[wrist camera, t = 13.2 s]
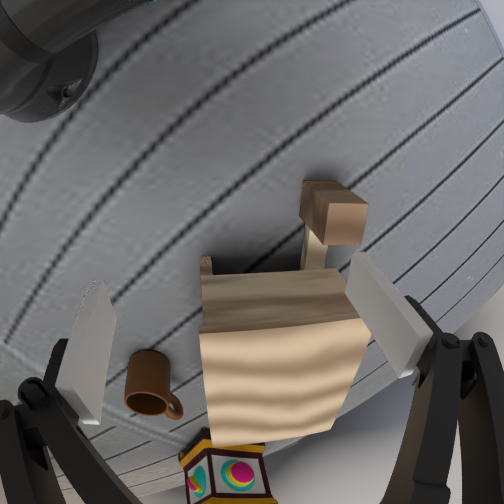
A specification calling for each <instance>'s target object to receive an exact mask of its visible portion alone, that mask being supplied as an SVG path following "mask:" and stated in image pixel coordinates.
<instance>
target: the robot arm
mask: <svg viewBox="0 0 504 504" xmlns="http://www.w3.org/2000/svg"><path fill="white" fill-rule="evenodd" d="M156 1H157V0H0V114H4V115H6V116H8V117H10V118H12V119H14V120H17V121H20V122H28V123H32V122H39V121H43V120H47V119H51V118H53V117H56V116H57V115H59V114H61V113H63V112H64V111H66V110H67V109H68V108H69V107H70V106H72V105H73V104H74V103H75V102H76V101H77V99H78V98H79V97H80V96H81V95H82V93H83V92H84V90H85V89H86V87H87V85H88V84H89V82H90V80H91V77H92V75H93V72H94V69H95V66H96V61H97V53H98V46H97V39H96V35H95V32H94V30H95V29H97V28H98V27H100V26H102V25H104V24H106V23H107V22H109V21H111V20H113V19H115V18H117V17H119V16H121V15H123V14H125V13H127V12H129V11H131V10H133V9H135V8H137V7H139V6H141V5H143V4H146V3H147V4H152V3H154V2H156ZM345 294H346V296H347V297H348V299H349V300H350V302H351V303H352V305H353V306H354V308H355V309H356V311H357V312H358V314H359V316H360V317H361V319H362V320H363V322H364V323H365V325H366V326H367V328H368V329H369V331H370V333H371V334H372V336H373V337H374V339H375V340H376V342H377V344H378V345H379V347H380V348H381V350H382V352H383V353H384V355H385V356H386V358H387V360H388V361H389V363H390V364H391V366H392V368H393V369H394V371H395V373H396V374H397V376H398V378H402V377H405V376H407V375H410V374H412V373H413V371H414V369H415V367H416V366H417V367H418V368H419V370H420V371H419V373H418V375H417V377H416V378H415V380H414V382H413V384H412V385H413V386H414V384H415V383H416V386H415V391H414V396H413V401H412V405H411V409H410V414H409V418H408V422H407V426H406V430H405V434H404V437H403V441H402V444H401V448H400V451H399V454H398V457H397V461H396V464H395V467H394V470H393V473H392V476H391V479H390V481H389V484H388V487H387V490H386V493H385V495H384V497H383V499H382V501H381V502H380V504H448V503H449V499H450V494H451V492H450V489H449V488H448V487H447V485H446V483H447V478H448V473H449V469H450V464H451V459H452V454H453V448H454V441H455V435H456V428H457V420H458V424H459V434H460V446H461V461H462V504H504V371H503V368H502V364H501V362H500V359H499V355H498V352H497V350H496V347H495V344H494V341H493V339H492V338H491V337H490V336H489V335H488V334H486V333H484V332H477V333H475V334H474V335H473V337H472V339H471V340H459V338H458V337H456V336H455V335H453V334H451V333H443V332H442V330H441V329H440V328H439V327H438V326H437V324H436V323H435V322H434V321H433V319H432V318H431V317H430V316H429V315H428V314H427V312H426V311H425V310H424V309H422V306H421V305H420V304H419V303H418V302H417V301H416V300H415V299H413V298H412V297H410V296H409V295H408V296H403V295H402V294H401V293H400V291H399V290H398V289H397V288H396V287H395V286H394V284H393V283H392V282H391V281H390V280H389V279H388V278H387V276H386V275H385V274H384V273H383V272H382V271H381V270H380V268H379V267H378V266H377V265H376V264H375V263H374V262H373V261H372V260H371V258H370V257H369V256H368V255H367V254H366V253H365V252H358V253H352V259H351V264H350V269H349V275H348V280H347V285H346V290H345ZM116 323H117V318H116V315H115V313H114V310H113V307H112V304H111V301H110V298H109V295H108V292H107V289H106V286H105V283H104V280H103V279H101V280H90V282H89V284H88V287H87V290H86V292H85V295H84V297H83V300H82V303H81V305H80V308H79V311H78V314H77V316H76V319H75V322H74V325H73V328H72V331H71V334H70V337H69V339H60V340H59V341H58V342H57V343H56V345H55V346H54V348H53V351H52V354H51V358H50V360H49V365H48V366H47V369H46V372H45V376H44V379H43V381H42V380H41V379H40V378H37V377H30V378H28V379H26V380H25V381H23V382H22V383H21V385H20V386H19V388H18V398H19V400H20V401H21V402H22V403H23V404H21V405H17V406H14V405H13V404H12V403H11V402H10V401H8V400H0V475H1V479H2V484H3V488H4V492H5V496H6V499H7V503H8V504H66V502H65V499H64V497H63V494H62V492H61V489H60V486H59V484H58V481H57V478H56V475H55V472H54V469H53V466H52V463H51V460H50V457H49V454H48V450H47V447H46V446H48V448H49V450H50V451H51V453H52V455H53V456H54V458H55V460H56V461H57V463H58V465H59V466H60V468H61V469H62V471H63V473H64V474H65V476H66V477H67V479H68V480H69V482H70V483H71V485H72V486H73V487H74V489H75V490H76V492H77V493H78V494H79V496H80V497H81V499H82V500H83V501H84V503H85V504H142V503H141V502H140V501H139V499H138V498H137V497H136V496H135V495H134V494H133V493H132V492H131V491H130V490H129V489H128V488H127V486H126V485H125V484H124V483H123V482H122V481H121V480H120V479H119V477H118V476H117V475H116V474H115V473H114V471H113V470H112V469H111V468H110V467H109V465H108V464H107V463H106V462H105V460H104V459H103V458H102V457H101V455H100V454H99V453H98V452H97V450H96V449H95V448H94V446H93V445H92V444H91V442H90V441H89V439H88V438H87V437H86V435H85V434H84V432H83V431H82V430H81V428H80V427H79V426H78V420H79V418H80V419H81V420H82V421H83V423H84V424H100V422H101V413H102V405H103V397H104V390H105V383H106V377H107V371H108V365H109V359H110V353H111V348H112V343H113V337H114V332H115V328H116Z"/></svg>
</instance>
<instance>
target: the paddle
mask: <svg viewBox="0 0 504 504" xmlns="http://www.w3.org/2000/svg"><path fill="white" fill-rule="evenodd" d="M368 206H369V204H368V203H367V202H366V201H364V200H363V199H361V198H360V197H358V196H357V195H356V194H354V193H353V192H351V191H350V190H348V189H347V188H345V187H344V186H342V185H341V184H339V183H338V182H329V181H303V182H302V193H301V204H300V214H299V216H300V217H301V219H302V220H303V221H304V222H305V231H304V239H303V247H302V256H301V263H300V271H301V270H317V269H324V265H325V259H326V253H327V247H328V245H345V244H361V243H362V238H363V233H364V228H365V223H366V217H367V212H368Z"/></svg>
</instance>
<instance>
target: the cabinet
mask: <svg viewBox="0 0 504 504" xmlns="http://www.w3.org/2000/svg"><path fill="white" fill-rule="evenodd" d="M200 271H201V290H202V306H203V321H204V327H199V338H200V348H201V358H202V368H203V377H204V386H205V394H206V403H207V410H208V418H209V425H210V433H211V440H212V446H213V447H224V446H235V445H244V444H253V443H261V442H268V441H275V440H281V439H287V438H293V437H298V436H303V435H308V434H313V433H317V432H322V431H326V430H330V429H331V427H332V425H333V423H334V421H335V419H336V417H337V415H338V412H339V410H340V408H341V406H342V404H343V402H344V400H345V397H346V395H347V393H348V391H349V389H350V386H351V384H352V382H353V379H354V377H355V375H356V372H357V370H358V367H359V365H360V363H361V360H362V358H363V355H364V353H365V350H366V347H367V345H368V342H369V339H370V337H371V333H370V331H369V329H368V328H367V326H366V325H365V323H364V322H363V320H362V319H361V317H360V316H359V314H358V312H357V311H356V309H355V308H354V306H353V305H352V303H351V302H350V300H349V299H348V297H347V296H346V294H345V290H346V285H347V282H346V281H345V279H344V278H343V277H342V275H341V274H340V273H339V271H338V270H337V269H336V268H332V269H317V270H301V271H284V272H267V273H249V274H230V275H213V273H212V264H211V256H200Z"/></svg>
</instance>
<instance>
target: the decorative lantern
mask: <svg viewBox="0 0 504 504" xmlns="http://www.w3.org/2000/svg"><path fill="white" fill-rule="evenodd" d="M264 449H265V442H261V443H253V444H244V445H235V446H224V447H213V446H212V440H211V437H209V436H208V433H207V430H206V429H205V428H202V430H201V438H200V440H199V441H198V442H197V443H196V444H195V445H194V446H193V447H192V448H191V449H190V450H189V451H188V452H187V453H186V454H184V452H180V453H179V456H178V457H179V463H180V465H181V466H182V468H183V469H184V472H185V484H186V495H187V504H278V502H277V501H276V500H275V499H274V498H273V496H272V495H271V491H270V487H269V483H268V479H267V475H266V470H265V466H264V462H263V457H262V455H263V452H264Z"/></svg>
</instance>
